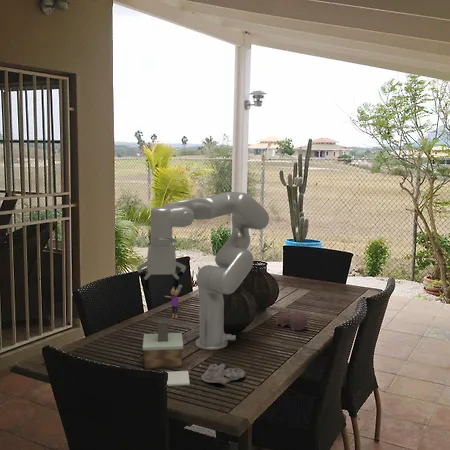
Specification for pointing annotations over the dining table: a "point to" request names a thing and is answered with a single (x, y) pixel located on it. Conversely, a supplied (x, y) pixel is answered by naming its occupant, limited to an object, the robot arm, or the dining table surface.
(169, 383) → the stone tile
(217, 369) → the fossil
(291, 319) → the toy
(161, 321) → the lid
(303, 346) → the dining table surface
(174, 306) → the toy
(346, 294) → the dining table surface
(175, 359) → the walnut box
